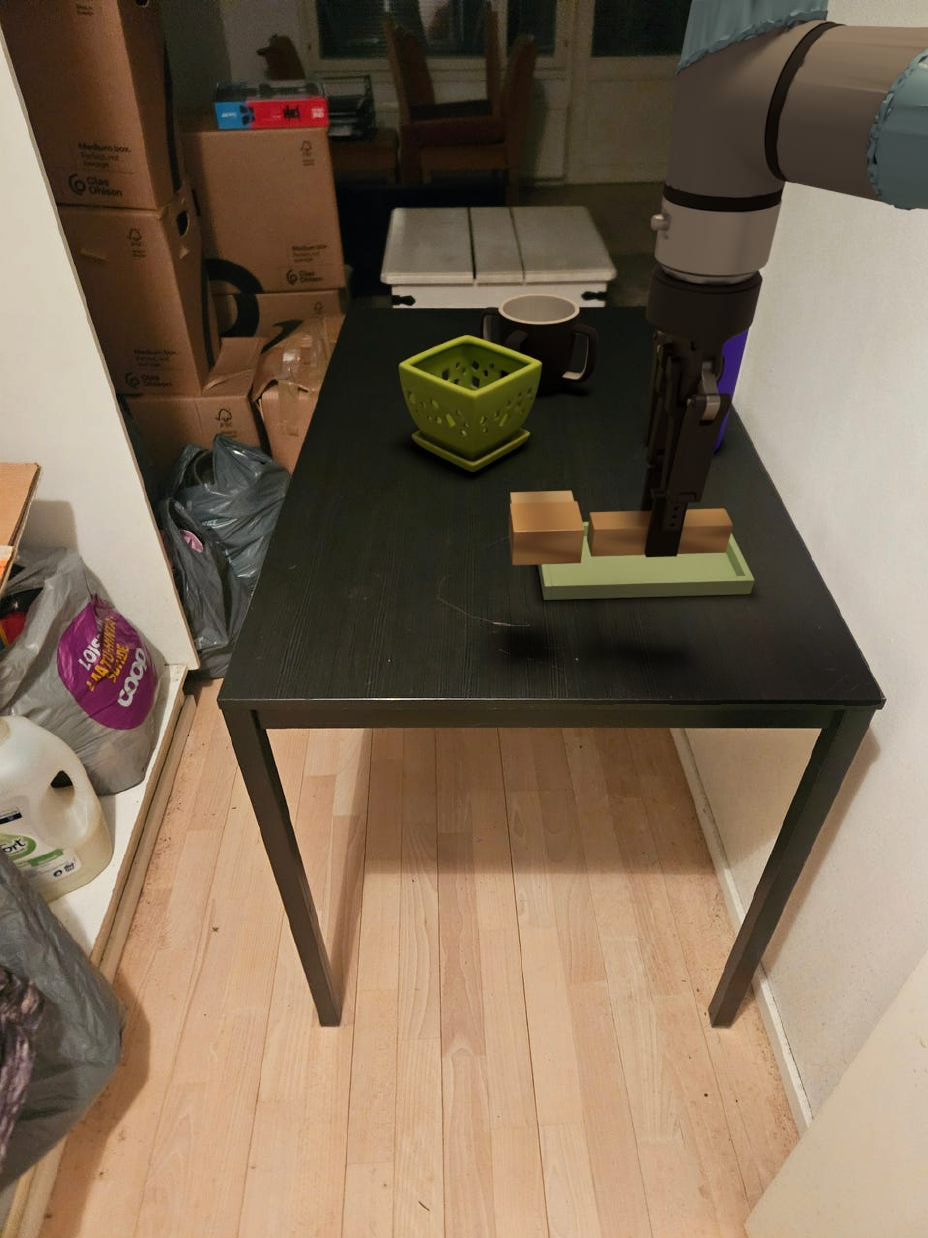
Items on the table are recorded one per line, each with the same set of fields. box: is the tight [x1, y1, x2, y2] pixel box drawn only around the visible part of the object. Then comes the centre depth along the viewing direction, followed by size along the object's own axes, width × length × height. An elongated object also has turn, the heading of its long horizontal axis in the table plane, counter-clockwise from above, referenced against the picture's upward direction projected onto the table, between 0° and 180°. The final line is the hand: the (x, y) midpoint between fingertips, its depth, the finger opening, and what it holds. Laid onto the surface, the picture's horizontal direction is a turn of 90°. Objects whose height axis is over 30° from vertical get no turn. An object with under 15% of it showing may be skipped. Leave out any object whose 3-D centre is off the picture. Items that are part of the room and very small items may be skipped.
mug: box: [479, 293, 600, 395], centre depth 118 cm, size 16×16×12 cm
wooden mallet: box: [508, 490, 734, 566], centre depth 68 cm, size 19×7×4 cm, turn 92°
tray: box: [537, 521, 755, 601], centre depth 87 cm, size 23×12×2 cm, turn 92°
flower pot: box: [398, 334, 542, 473], centre depth 103 cm, size 14×14×13 cm
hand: (656, 542), depth 68 cm, fingers closed on wooden mallet, 3 cm apart
